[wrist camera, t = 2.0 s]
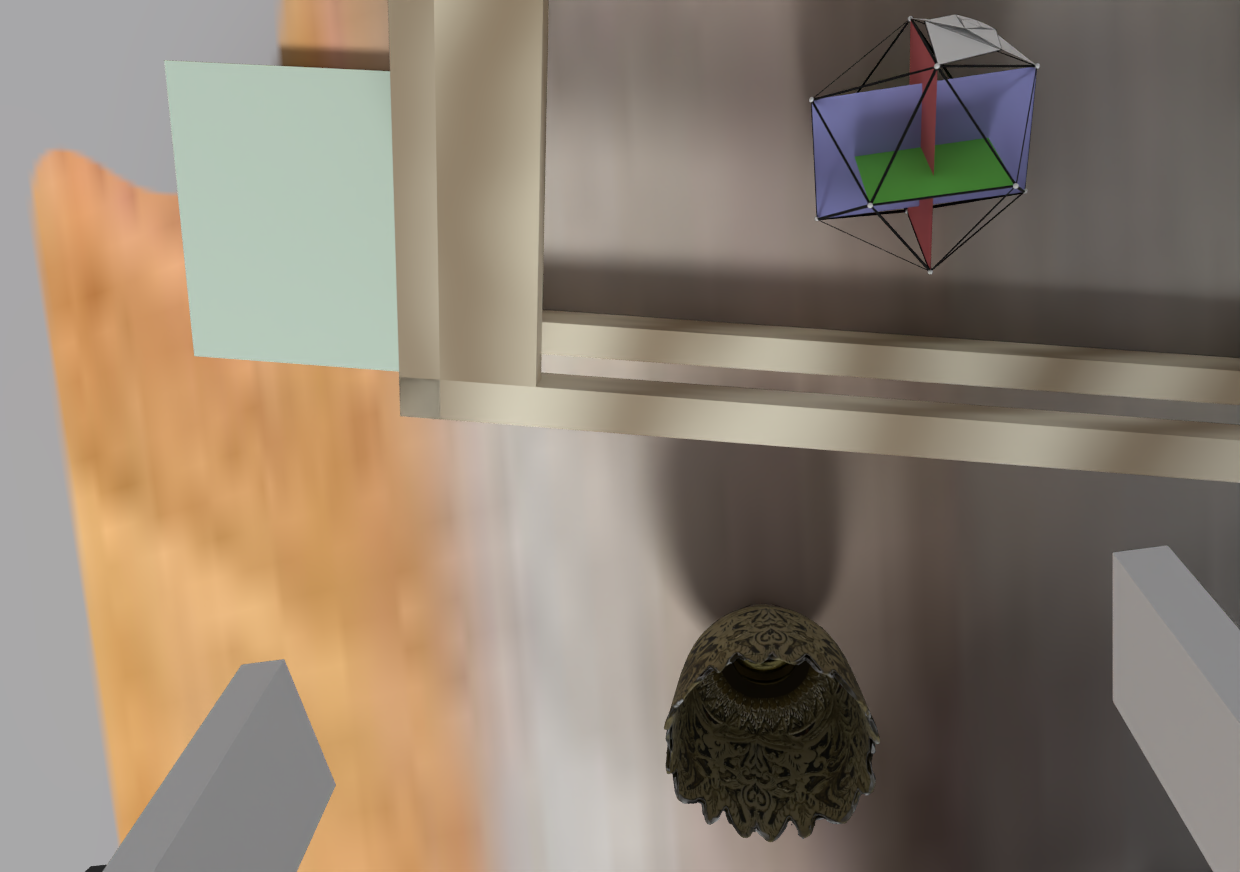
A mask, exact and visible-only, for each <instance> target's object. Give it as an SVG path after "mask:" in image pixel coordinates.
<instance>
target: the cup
mask: <svg viewBox="0 0 1240 872" xmlns="http://www.w3.org/2000/svg"><path fill="white" fill-rule="evenodd" d="M664 729H666V730H667V733H666V741H667V745H668V748H667V752H666V753H667V758H666V771H667V774H671V773H672V774H673V781H674V788H675V794H676V796H677V799H678V800H679V801H681V802H682V803H688V804H690V803H692V804H694V803H697V802H698V803H701V804H702V813H703V815H704V817H705V821H706V823H707V824H709V825H711V824H713V823H714V822H716V821H717V820H718V819H719V817H720V815H721V813H722V811H725V812H726V813H725V814H726V817H727V820H728V822H729V823H730V824H732V825H733V827H734V828H735V830H736V831H737V832H738V834H739V835H740V836H741V837H743V838H748V837H750V836H751V834H752V832H756V831H757V832H758V834H759V835H761V836H762V837H763V838H764V839H765V840H766V841H768V842H773V841H775V840H777V839H778V838H779V837H780V836H781V834H782V833H783V832H784V830H785V829H786V827H787V824H788V822H789V821H792V822H793V824H794V825H795V826H796V828H797V830H798V835H799V836H800V837H802V839H804V838H806V837H808V836H810V835H811V834H812V831H813V828H814V826H815V821H816V820H821V819H826V820H827V821H828V822H830V823H834V824H844V823H846V822H847V821H848V820H849V819H850V817H851V816H852V814H853V813H854V811H855V809H856V806H857V804H858V801H859V798H860V796H861V794H866V795H869V794H871V793H872V792H873V790H874V787H875V775H874V773H873V770H872V756H873V754H874V753H875V742H876V744H879V743H880V738H879V734H878V730H877V728H876V725H875V722H874V720H873V718H872V716H871V714H870V711H869V709H868V706H867V704H866V702H865V699H864V697H863V694H862V692H861V690H860V687H859V685H858V683H857V681H856V678H855V676H854V674H853V672H852V670H851V668H850V666H849V664H848V662H847V660H846V658H845V656H844V654H843V653H842V651H841V650H840V648H839V647H838V645H837V644H836V643H835V641H834V640H833V639H832V638H831V637H830V635H829V634H828V633H827V632H826V631H825V630H824V629H823V628H822V627H820V626H819V625H818V624H817V623H815V622H814V621H812V620H810V619H809V618H807V617H806V616H804V615H802V614H799V613H797V612H795V611H792V610H789V609H785V608H781V607H778V606H775V605H770V604H755V605H751V606H748V607H745V608H743V609H740V610H737V611H734V612H732V613H730V614H728V615H726V616H724V617H722V618H721V619H719V620H717V621H716V622H715V623H713V624H712V625H711V626H710V627H709V628H707V629H706V630H705V632H704V633H703V634H702V635H701V636H700V637H699V639H698V640H697V641H696V643H695V644H694V646H693V648H692V650H691V651H690V653H689V655H688V657H687V660H686V662H685V664H684V667H683V669H682V672H681V675H680V678H679V681H678V685H677V688H676V691H675V695H674V698H673V702H672V705H671V709H670V712H669V715H668V717H667V719H666V722H665V726H664ZM791 825H792V824H791ZM756 829H757V830H756Z"/></svg>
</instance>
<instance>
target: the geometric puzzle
mask: <svg viewBox="0 0 1240 872" xmlns="http://www.w3.org/2000/svg"><path fill="white" fill-rule="evenodd" d="M914 19H918V18H913V17H912V16H909V17H908V22H907V21H906V22H907V23H906V22H905V23H906V24H905V23H904V24H905V26H904V27H903V29H902V30H901V31H900V33H899V34H898V35H897V37H896V38H895V40H894V41H893V42H892V44H891V45H890V47H889V48H888V49H887V51H886V52H885V54H884V55H883V56H882V58H881V59H880V61H879V62H878V63H877V65H876V66H875V67H874V69H873V70H872V72H871V73H870V74H869V76H868V77H867V79H866V80H865V81H864V83H863V84H862V86H859V87H855V88H851V89H848V90H844V91H840V92H836V93H833V94H829V95H825V96H822V97H818V98H815V97H816V96H817V95H818V94H817V95H816V96H815V97H814V98H813V97H810V98H809V101H810V102H811V112H812V132H813V153H814V173H815V194H816V214H817V216H816V217H815V218H814V219H815V221H818V220H819V221H820V220H827V219H838V218H848V217H859V216H870V215H878V216H879V217H880V218H881V219H882V221H883V222H884V223H885V224H886V225H887V226H888V227H889V228H890V229H891V230H892V231H893V233H894V234H895V235H896V236H897V237H898V238H899V239H900V240H901V241H902V242H903V244H904V245H905V246H906V247H907V248H908V249H909V250H910V251H911V252H912V253H913V255H914V256H915V257H916V258H917V259H918V260H919V261H920V262H921V263H922V264H923V266H924V267H925V268H926V269H925V268H923V269H925V270H927V271H928V274H932V273H933V271H932V270H933V269H935V268H936V267H937V266H938V265H939V264H940V263H942V262H943V261H944V260H945V259H946V258H948V257H949V256H950V255H951V254H952V253H953V252H955V251H956V250H957V249H958V248H959V247H961V246H962V245H963V244H964V243H965V242H966V241H968V240H969V239H970V238H971V237H972V236H974V235H975V234H976V233H977V232H978V231H979V230H981V229H982V228H983V227H984V226H985V225H987V224H988V223H989V222H990V221H991V220H993V219H994V218H995V217H996V216H997V215H998V214H1000V213H1001V212H1002V211H1003V210H1004V209H1006V208H1007V207H1008V206H1009V205H1010V204H1011V203H1013V202H1014V201H1015V200H1016V199H1017V198H1019V197H1020V196H1021V195H1022V194H1023V193H1024V194H1025V193H1027V191H1028V190H1027V189H1025V186H1026V176H1027V166H1028V155H1029V145H1030V135H1031V125H1032V115H1033V105H1034V95H1035V85H1036V75H1037V69H1038V68H1039V67H1040V64H1039V63H1036V64H1034V63H1033V62H1032V61H1031V60H1029V59H1028V58H1027V57H1026V56H1024V55H1023V54H1022V53H1020V52H1019V51H1018V50H1017V49H1015V48H1014V47H1013V46H1012V45H1010V44H1009V43H1008V42H1007V41H1005V40H1004V39H1003V38H1002V37H1000V36H999V35H998V34H997V31H996V29H994V28H992V27H991V26H989V25H987V24H985V23H983V22H980V21H977V20H975V19H971V18H967V17H964V16H960V15H956V14H954V15H949V16H944V17H939V18H934V19H919V20H924V22H925V23H923V24H925V26H926V29H927V32H928V36H929V39H930V42H931V45H930V44H929V43H928V41H927V40H926V38H925V37H924V35H923V34H922V32H921V31H920V29H919V28H918V26H917V25H916V24H915V22H914ZM910 21H911V24H910V73H907V74H903V75H900V76H896V77H892V78H889V79H885V80H881V81H877V82H874V83H870V84H866V85H864V84H865V83H866V82H867V80H868V79H869V77H870V76H871V75H872V73H873V72H874V71H875V69H876V68H877V66H878V65H879V64H880V62H881V61H882V59H883V58H884V57H885V55H886V54H887V52H888V51H889V50H890V48H891V47H892V46H893V44H894V43H895V41H896V40H897V39H898V37H899V36H900V34H901V33H902V32H903V30H904V29H905V28H906V26H907V25H908V23H909V22H910ZM915 21H917V20H915ZM917 22H920V21H917ZM920 23H922V22H920ZM904 24H903V25H904ZM900 27H901V26H900ZM900 27H899V28H900ZM899 28H898V29H899ZM898 29H897V30H898ZM895 31H896V30H895ZM895 31H894V32H895ZM894 32H893V33H894ZM893 33H892V34H893ZM889 36H890V35H889ZM889 36H888V37H889ZM888 37H887V38H888ZM887 38H886V39H887ZM883 41H884V40H883ZM883 41H882V42H883ZM882 42H881V43H882ZM878 45H879V44H878ZM878 45H877V46H878ZM877 46H876V47H877ZM931 46H932V47H931ZM876 47H875V48H876ZM872 50H873V49H872ZM872 50H871V51H872ZM1000 50H1004V51H1006V52H1008V53H1010V54H1012V55H1015V56H1017V57H1019V58H1021V59H1023V60H1026V61H1028V62H1030V63H1029V64H1031V63H1032V64H1031V65H944V64H947V63H951V62H955V61H959V60H964V59H968V58H972V57H976V56H980V55H984V54H988V53H992V52H996V51H997V52H999V51H1000ZM871 51H870V52H871ZM932 53H933V54H934V56H935V57H934V56H933V54H932ZM999 53H1002V52H999ZM867 54H868V53H867ZM867 54H866V55H867ZM1002 54H1004V53H1002ZM866 55H865V56H866ZM1005 55H1007V54H1005ZM865 56H864V57H865ZM1007 56H1010V55H1007ZM1010 57H1012V56H1010ZM1013 58H1015V57H1013ZM861 59H862V58H861ZM861 59H860V60H861ZM1015 59H1018V58H1015ZM860 60H859V61H860ZM1018 60H1020V59H1018ZM1023 60H1021V61H1023ZM859 61H858V62H859ZM1026 61H1023V62H1026ZM1028 62H1026V63H1028ZM856 63H857V62H856ZM856 63H855V64H856ZM855 64H854V65H855ZM854 65H853V66H854ZM940 67H942V68H943V69H944V70H945V72H946V73H947V75H948V76H949V78H950V79H947V77H946V76H945V74H944V73H943V71H942V70H941V68H940ZM946 67H1027V68H1020V69H1013V70H1007V71H1000V72H993V73H987V74H980V75H973V76H967V77H960V78H952V76H951V75H950V73H949V72H948V70H947V69H946ZM850 68H851V67H850ZM850 68H849V69H850ZM849 69H848V70H849ZM937 69H938V70H939V72H940V73H941V75H942V76H943V78H944V79H945V80H940V81H937ZM848 70H847V71H848ZM845 72H846V71H845ZM845 72H844V73H845ZM844 73H843V74H844ZM843 74H842V75H843ZM909 75H910V85H907V86H900V87H893V88H887V89H880V90H873V91H867V92H860V93H859V91H860V90H861V89H862V88H864V87H868V86H871V85H875V84H879V83H882V82H886V81H890V80H894V79H897V78H901V77H905V76H909ZM839 77H840V76H839ZM839 77H838V78H839ZM838 78H837V79H838ZM837 79H836V80H837ZM833 82H834V81H833ZM833 82H832V83H833ZM832 83H831V84H832ZM828 86H829V85H828ZM828 86H827V87H828ZM827 87H826V88H827ZM826 88H825V89H826ZM856 89H859V90H858V91H857V93H853V94H847V95H840V96H834V95H838V94H841V93H845V92H849V91H853V90H856ZM822 91H823V90H822ZM822 91H821V92H822ZM821 92H820V93H821ZM830 96H833V97H830ZM826 97H827V98H826ZM1017 194H1020V195H1019V196H1018V197H1017V198H1016V199H1014V200H1013V201H1012V202H1011V203H1010V204H1008V205H1007V206H1006V207H1005V208H1004V209H1002V210H1001V211H1000V212H999V213H998V214H997V215H995V216H994V217H993V218H992V219H991V220H989V221H988V222H987V223H986V224H985V225H984V226H982V227H981V228H980V229H979V230H978V231H976V232H975V233H974V234H973V235H972V236H971V237H969V238H968V239H967V240H966V241H965V242H963V243H962V244H961V245H960V246H959V247H958V248H956V249H955V250H954V251H953V252H952V253H950V252H951V251H952V250H953V249H954V248H955V247H956V246H957V245H958V244H959V243H960V242H961V241H962V240H963V239H964V238H965V237H966V236H967V235H968V234H969V233H970V232H971V231H972V230H973V229H974V228H975V227H976V226H977V225H978V224H979V223H980V222H981V221H982V220H983V219H984V218H985V217H986V216H987V215H988V214H989V213H990V212H991V211H992V210H993V209H994V208H995V207H996V206H997V205H998V204H999V203H1000V202H1001V201H1002V200H1003V199H1004V198H1005V197H1006V196H1011V195H1017ZM999 197H1003V198H1002V199H1001V200H1000V201H999V202H998V203H997V204H996V205H995V206H994V207H993V208H992V209H991V210H990V211H989V212H988V213H987V214H986V215H985V216H984V217H983V218H982V219H981V220H980V221H979V222H978V223H977V224H976V225H975V226H974V227H973V228H972V229H971V230H970V231H969V232H968V233H967V234H966V235H965V236H964V237H963V238H962V239H961V240H960V241H959V242H958V243H957V244H956V245H955V246H954V247H953V248H952V249H951V250H950V251H949V252H948V253H947V254H946V255H945V256H944V257H943V258H942V259H941V260H940V261H939V262H938V263H937V264H936V265H935V266H934V267H933V268H932V269H931V244H932V214H933V208H937V207H944V206H950V205H956V204H962V203H968V202H974V201H980V200H987V199H993V198H999ZM962 200H963V201H962ZM954 201H957V202H954ZM947 202H951V203H947ZM939 203H945V204H939ZM933 204H939V205H933ZM901 208H904V210H895V211H886V210H894V209H901ZM879 211H884V212H879ZM871 212H873V213H871ZM902 212H905V213H906V214H908V217H909V220H910V222H911V225H912V227H913V230H914V233H915V235H916V238H917V241H918V243H919V246H920V249H921V251H922V254H923V256H924V259H925V262H926V264H927V265H926V264H925V263H924V262H923V261H922V260H921V259H920V258H919V256H918V255H917V254H916V253H915V252H914V251H913V250H912V249H911V248H910V247H909V245H908V244H907V243H906V242H905V241H904V240H903V239H902V238H901V237H900V235H899V234H898V233H897V232H896V231H895V230H894V229H893V228H892V227H891V226H890V224H889V223H888V222H887V221H886V220H885V219H884V218H883V217H882V216H881V214H892V213H902ZM821 222H822V221H821ZM823 223H824V222H823ZM825 224H826V223H825ZM827 225H829V224H827ZM829 226H831V225H829ZM832 227H833V226H832ZM834 228H835V227H834ZM836 229H837V228H836ZM838 230H840V229H838ZM840 231H842V230H840ZM842 232H844V231H842ZM845 233H846V232H845ZM847 234H848V233H847ZM849 235H850V234H849ZM851 236H853V235H851ZM853 237H855V236H853ZM856 238H857V237H856ZM858 239H859V238H858ZM860 240H861V239H860ZM862 241H864V240H862ZM864 242H866V241H864ZM866 243H868V242H866ZM869 244H870V243H869ZM871 245H872V244H871ZM873 246H874V245H873ZM875 247H877V246H875ZM877 248H879V247H877ZM880 249H881V248H880ZM882 250H883V249H882ZM884 251H885V250H884ZM886 252H887V251H886ZM888 253H890V252H888ZM949 253H950V254H949ZM890 254H892V253H890ZM948 254H949V255H948ZM893 255H894V254H893ZM947 255H948V256H947ZM895 256H896V255H895ZM946 256H947V257H946ZM897 257H898V256H897ZM945 257H946V258H945ZM899 258H901V257H899ZM944 258H945V259H944ZM901 259H903V258H901ZM903 260H905V259H903ZM906 261H907V260H906ZM908 262H909V261H908ZM910 263H911V262H910ZM912 264H914V263H912ZM914 265H916V264H914ZM917 266H918V265H917ZM919 267H920V266H919ZM921 268H922V267H921Z"/></svg>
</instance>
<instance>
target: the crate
mask: <svg viewBox="0 0 1240 872" xmlns="http://www.w3.org/2000/svg"><path fill="white" fill-rule="evenodd" d="M548 5H549V0H388V22H389V55H390V88H391V121H392V154H393V187H394V220H395V253H396V286H397V319H398V352H399V386H400V416H406V417H418V418H431V419H443V420H456V421H469V422H481V423H494V424H506V425H519V426H531V427H544V428H557V429H569V430H582V431H594V432H607V433H619V434H632V435H645V436H657V437H670V438H682V439H695V440H707V441H720V442H733V443H745V444H758V445H770V446H783V447H795V448H808V449H821V450H833V451H846V452H858V453H871V454H884V455H896V456H909V457H921V458H934V459H946V460H959V461H972V462H984V463H997V464H1009V465H1022V466H1034V467H1047V468H1060V469H1072V470H1085V471H1097V472H1110V473H1122V474H1135V475H1148V476H1160V477H1173V478H1185V479H1198V480H1210V481H1223V482H1236V483H1240V425H1235V424H1222V423H1208V422H1195V421H1182V420H1168V419H1155V418H1141V417H1128V416H1115V415H1101V414H1088V413H1075V412H1061V411H1048V410H1034V409H1021V408H1008V407H994V406H981V405H968V404H954V403H941V402H927V401H914V400H901V399H887V398H874V397H861V396H847V395H834V394H820V393H807V392H794V391H780V390H767V389H754V388H740V387H727V386H713V385H700V384H687V383H673V382H660V381H646V380H633V379H620V378H606V377H593V376H580V375H566V374H553V373H541V354H547V355H561V356H574V357H588V358H602V359H615V360H629V361H643V362H656V363H670V364H684V365H697V366H711V367H725V368H738V369H752V370H766V371H779V372H793V373H807V374H820V375H834V376H848V377H861V378H875V379H889V380H902V381H916V382H930V383H943V384H957V385H971V386H985V387H998V388H1012V389H1026V390H1039V391H1053V392H1067V393H1080V394H1094V395H1108V396H1121V397H1135V398H1149V399H1162V400H1176V401H1190V402H1203V403H1217V404H1231V405H1240V358H1230V357H1216V356H1201V355H1187V354H1172V353H1158V352H1143V351H1129V350H1115V349H1100V348H1086V347H1071V346H1057V345H1042V344H1028V343H1014V342H999V341H985V340H970V339H956V338H941V337H927V336H912V335H898V334H884V333H869V332H855V331H840V330H826V329H811V328H797V327H783V326H768V325H754V324H739V323H725V322H710V321H696V320H682V319H667V318H653V317H638V316H624V315H609V314H595V313H580V312H566V311H552V310H542V302H543V252H544V203H545V153H546V104H547V54H548Z"/></svg>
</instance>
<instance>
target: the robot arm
mask: <svg viewBox="0 0 1240 872" xmlns="http://www.w3.org/2000/svg"><path fill="white" fill-rule="evenodd" d="M1113 702H1114V704H1115V706H1116V707H1117V709H1118V711H1119V712H1120V714H1121V716H1122V718H1123V719H1124V721H1125V723H1126V724H1127V726H1128V728H1129V729H1130V731H1131V733H1132V735H1133V736H1134V738H1135V740H1136V741H1137V743H1138V745H1139V746H1140V748H1141V750H1142V752H1143V753H1144V755H1145V757H1146V758H1147V760H1148V762H1149V763H1150V765H1151V767H1152V769H1153V770H1154V772H1155V774H1156V775H1157V777H1158V779H1159V780H1160V782H1161V784H1162V786H1163V787H1164V789H1165V791H1166V792H1167V794H1168V796H1169V798H1170V799H1171V801H1172V803H1173V804H1174V806H1175V808H1176V809H1177V811H1178V813H1179V815H1180V816H1181V818H1182V820H1183V821H1184V823H1185V825H1186V826H1187V828H1188V830H1189V832H1190V833H1191V835H1192V837H1193V838H1194V840H1195V842H1196V843H1197V845H1198V847H1199V849H1200V850H1201V852H1202V854H1203V855H1204V857H1205V859H1206V860H1207V862H1208V864H1209V866H1210V867H1211V869H1212V871H1213V872H1240V630H1239V629H1238V627H1237V626H1236V625H1235V624H1234V623H1233V621H1232V620H1231V619H1230V618H1229V617H1228V616H1227V614H1226V613H1225V612H1224V611H1223V610H1222V609H1221V607H1220V606H1219V605H1218V604H1217V603H1216V602H1215V600H1214V599H1213V598H1212V597H1211V596H1210V594H1209V593H1208V592H1207V591H1206V590H1205V589H1204V587H1203V586H1202V585H1201V584H1200V583H1199V582H1198V580H1197V579H1196V578H1195V577H1194V576H1193V575H1192V573H1191V572H1190V571H1189V570H1188V569H1187V567H1186V566H1185V565H1184V564H1183V563H1182V562H1181V560H1180V559H1179V558H1178V557H1177V556H1176V555H1175V553H1174V552H1173V551H1172V550H1171V549H1170V548H1169V546H1168V545H1167V546H1159V547H1152V548H1144V549H1136V550H1128V551H1120V552H1113ZM335 786H336V784H335V782H334V779H333V777H332V775H331V772H330V770H329V767H328V765H327V762H326V760H325V758H324V755H323V753H322V750H321V748H320V745H319V743H318V740H317V738H316V736H315V733H314V731H313V728H312V726H311V723H310V721H309V719H308V716H307V714H306V711H305V709H304V706H303V704H302V702H301V699H300V697H299V694H298V692H297V689H296V687H295V684H294V682H293V680H292V677H291V675H290V672H289V670H288V667H287V665H286V663H285V660H284V659H282V660H275V661H267V662H259V663H251V664H244V665H241V667H240V668H239V670H238V671H237V672H236V674H235V675H234V677H233V678H232V680H231V681H230V683H229V684H228V686H227V687H226V689H225V690H224V692H223V693H222V695H221V696H220V698H219V699H218V701H217V702H216V704H215V705H214V707H213V708H212V710H211V711H210V713H209V714H208V716H207V717H206V719H205V720H204V722H203V723H202V725H201V726H200V728H199V729H198V730H197V732H196V733H195V735H194V736H193V738H192V739H191V741H190V742H189V744H188V745H187V747H186V748H185V750H184V751H183V753H182V754H181V756H180V757H179V759H178V760H177V762H176V763H175V765H174V766H173V768H172V769H171V771H170V772H169V774H168V775H167V777H166V778H165V780H164V781H163V783H162V784H161V785H160V787H159V788H158V790H157V791H156V793H155V794H154V796H153V797H152V799H151V800H150V802H149V803H148V805H147V806H146V808H145V809H144V811H143V812H142V814H141V815H140V817H139V818H138V820H137V821H136V823H135V824H134V826H133V827H132V829H131V830H130V832H129V833H128V835H127V836H126V838H125V839H124V840H123V842H122V843H121V845H120V846H119V848H118V849H117V851H116V852H115V854H114V855H113V857H112V859H111V860H110V861H109V863H108V864H107V865H100V866H91V867H90V868H89V869H87V870H86V871H85V872H297V870H298V867H299V865H300V863H301V861H302V859H303V856H304V854H305V852H306V850H307V848H308V845H309V843H310V841H311V839H312V836H313V834H314V832H315V830H316V828H317V825H318V823H319V821H320V819H321V817H322V814H323V812H324V810H325V808H326V806H327V803H328V801H329V799H330V797H331V794H332V792H333V790H334V788H335Z"/></svg>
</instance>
